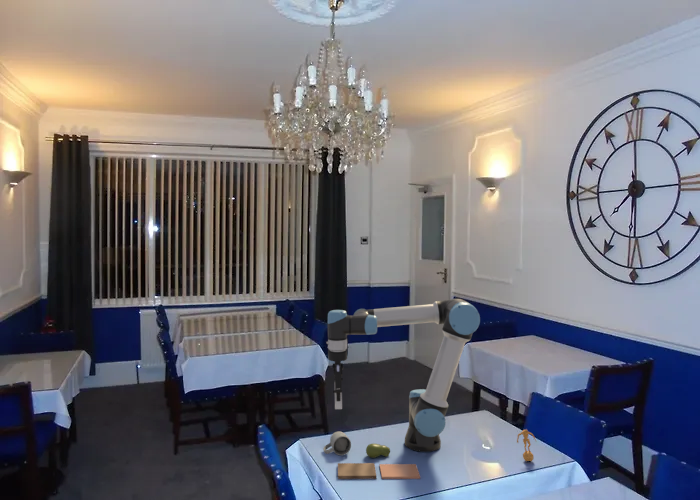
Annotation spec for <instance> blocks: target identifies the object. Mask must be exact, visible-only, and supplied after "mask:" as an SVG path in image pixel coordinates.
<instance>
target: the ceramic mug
mask: <svg viewBox="0 0 700 500" xmlns="http://www.w3.org/2000/svg"><path fill="white" fill-rule="evenodd" d="M351 448H352V441H351V439H350V438H349V437H348V436H347V434H346V433H344V432H342V431H335V432H333V433H332V435H331V436H330V440H329V443H327V444H325V445H324V446H323V448H322V449H323V453H324V454H325V455H326V454H327V455H328V454H331V453H334V454H335V455H337V456H345V455H347V454H348V453H349V452H350V450H351Z"/></svg>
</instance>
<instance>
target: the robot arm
mask: <svg viewBox="0 0 700 500" xmlns="http://www.w3.org/2000/svg"><path fill="white" fill-rule="evenodd" d="M480 316H481V315H480V313H479V311H478V309H477V308H476V307H475V306H474V305H473V304H471V303H469V302H468V301H466V300H464V299H461V298H450V299H445V300H436V301H434V302H433V303H429V304H418V305H407V306H396V307H393V306H392V307H384V308H383V307H382V308H374V309H365V308H359V309H357V310H355V312H354V313H353V315H349V314H347V311H346V310H343V309H333V310H330V311H328V313H327V341H325V342H326V344H327V349H328V350H327V359H328V361H330V362H334V363H332V371H333V377H334V390H333V391H332V392H333V394H334V410H342V409H343V389H342V384H343V383H342V381H343V370H344V364H343V363H341V362H345V361H347V359H348V336H351V335H355V336H356V335H357V336H358V335H360V336H361V335H363V336H364V335H368V336H369V335H376V334H377V333H378V328H381V327H382V328H383V327H391V326H392V327H393V326H403V325H404V326H407V325H418V324H428V323H435V324H437V325H442V328H441V331H442V333H443V338H442V340H441V344H440V347H439V350H438V353H437V355H436V359H435V362H434V364H433V368H432V371H431V373H430V376H429V379H428V383H427V386H426V389H424V388H422V389H421V388H420V389H413V390H411V391H410V392H409V396H408V400H409V405H408V409H409V410H408V411H409V413H408V428H407V430H406V434H405V436H404V445H405V446H406V447H407V448H408V449H410V450H413V451H416V452H422V453H424V452H425V453H429V452H435V451H438V450H440V449H441V445H442V440H441V437H440V434H442V433H443V431H444V430H445V427H446V414H447V412H448V408H449V404H448V402H447V398H448V396H449V392H450V389H451V387H452V384H453V381H454V378H455V375H456V372H457V368H458V365H459V363H460V360H461V356H462V353H463V351H464V349H465V344H466V343H467V342H468V343H469V341H471V339H472V336H473V333H474V332H476V331H477V329H478V328H479V326H480V323H481V317H480Z"/></svg>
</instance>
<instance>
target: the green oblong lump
mask: <svg viewBox="0 0 700 500" xmlns="http://www.w3.org/2000/svg"><path fill="white" fill-rule="evenodd" d="M366 446H367V447H366V449H365V453H366V455H367V456H368V457H369V458H371V459H375V458H377V457H379V456H383V457H385V458H386V457H387V458H388V457H389V456H390V453H391V449H390V447H388V446H386V445H384V444H383V445H382V444H379V443H374V442H373V443H369V444H368V445H366Z"/></svg>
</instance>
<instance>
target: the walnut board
mask: <svg viewBox="0 0 700 500" xmlns="http://www.w3.org/2000/svg"><path fill="white" fill-rule="evenodd" d="M376 471H377V469H376V465H375V463H374V462H362V463H361V462H357V463H353V462H350V463H349V462H346V463H345V462H344V463H343V462H339V463H337V479H338V480H377V472H376Z"/></svg>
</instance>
